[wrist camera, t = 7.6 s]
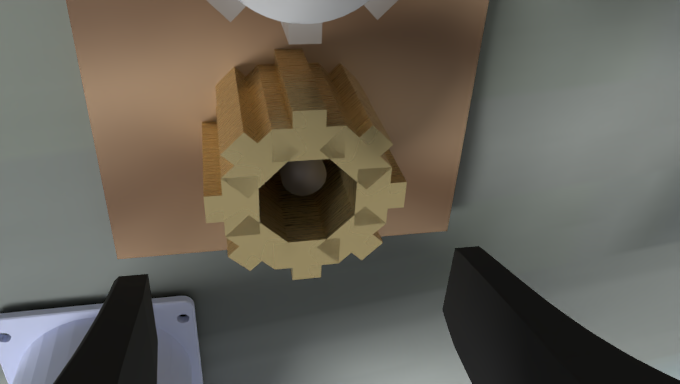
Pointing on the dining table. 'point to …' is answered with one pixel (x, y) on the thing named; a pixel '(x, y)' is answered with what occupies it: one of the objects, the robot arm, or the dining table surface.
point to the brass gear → (297, 145)
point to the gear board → (245, 54)
